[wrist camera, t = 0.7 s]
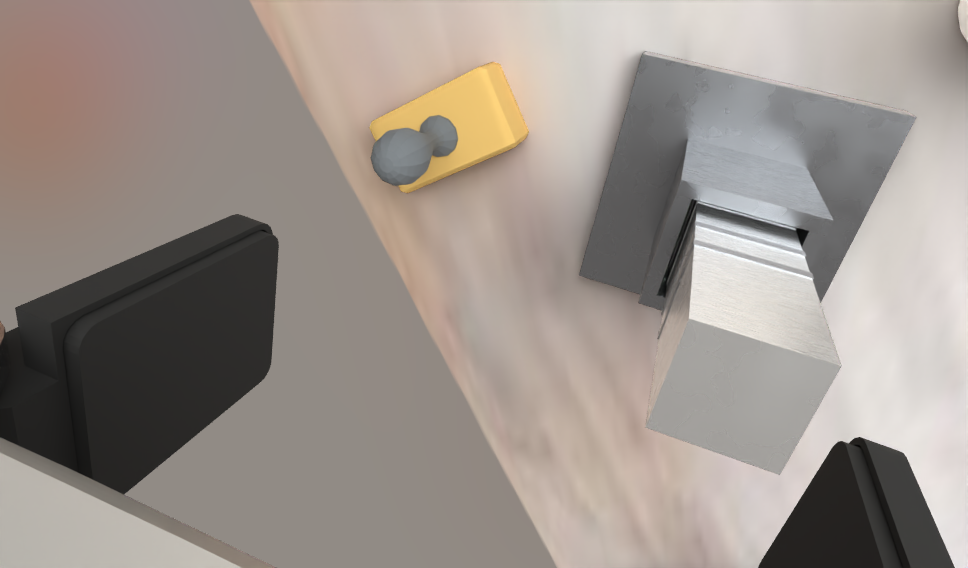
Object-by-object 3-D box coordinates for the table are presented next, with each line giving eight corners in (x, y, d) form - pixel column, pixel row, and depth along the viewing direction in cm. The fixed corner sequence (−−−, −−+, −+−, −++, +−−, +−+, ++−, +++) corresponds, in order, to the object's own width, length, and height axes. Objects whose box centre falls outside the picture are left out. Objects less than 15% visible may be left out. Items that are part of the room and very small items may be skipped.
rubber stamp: (421, 182, 50) (346, 234, 40) (388, 115, 48) (301, 150, 38) (531, 135, 45) (478, 179, 35) (498, 59, 44) (432, 82, 34)
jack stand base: (645, 50, 40) (622, 73, 30) (907, 111, 37) (980, 158, 27) (583, 264, 48) (548, 340, 38) (796, 330, 45) (820, 432, 35)
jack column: (699, 159, 40) (687, 315, 21) (782, 181, 39) (846, 364, 20) (673, 232, 43) (642, 428, 24) (750, 254, 41) (781, 478, 23)
